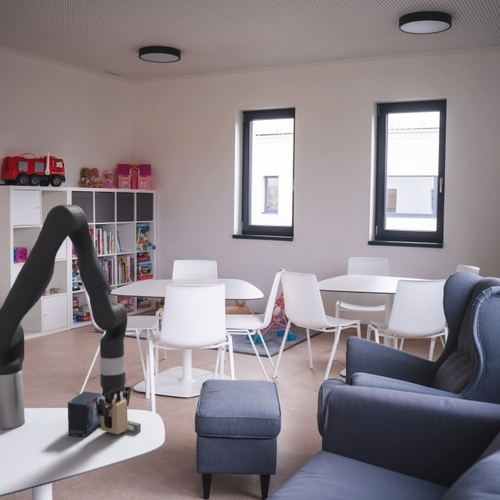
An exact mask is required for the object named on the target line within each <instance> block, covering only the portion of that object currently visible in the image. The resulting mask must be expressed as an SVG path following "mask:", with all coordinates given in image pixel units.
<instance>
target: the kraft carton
mask: <svg viewBox="0 0 500 500" xmlns="http://www.w3.org/2000/svg"><path fill="white" fill-rule="evenodd" d="M105 404H106V405H108V406H110V405H111V404H108V403H105ZM108 410H109V409H108V408H107V412H108ZM111 416H112V428H106V427H105V425H104V416H101V426H100V430H101V431H103V432H107V433H111V434H115V435H119V434H121V433H123V432H125V431H127V429H128V423H127V421H128V406H127V401H126V399H124V400H119V401H117V402H115V404H113V409H112V415H111Z"/></svg>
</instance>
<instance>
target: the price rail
mask: <svg viewBox="0 0 500 500" xmlns="http://www.w3.org/2000/svg"><path fill="white" fill-rule="evenodd" d="M127 423H128V429H127V430H126V431H128V432H131V433H134V434H135V433H136V434H139V433H141V431H142V430H141V429H142V428H141V425H142V424H141V423H138V422H134V421H131V420H127Z"/></svg>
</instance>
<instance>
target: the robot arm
mask: <svg viewBox="0 0 500 500" xmlns="http://www.w3.org/2000/svg"><path fill="white" fill-rule="evenodd" d="M89 226H90V225H89V222H88V218H87V216H86V213H85V212H84V210H83V209H82V207H80V206H79V205H76V204H57V205H56V206H54V207H52V208H51V209H50V210H49V211H48V213H47V215H46V217H45V219H44V222H43V224H42V226H41V228H40V232H39V235H37V236H38V237H37V238H36V241H35V243H34V246H33V247H32V249H31V250H30V252H29V254H28V256H27V258H26V260H25V261H24V263H23V265H22V266H21V268H20V270H19V272H18V274H17V276H16V277H15V280H14V283H13V284H12V286H11V288H10V290H9V291H8V294H7V296H6V297H5V300H4V302H3V303H2V305H1V307H0V429H2V430H6V429H8V430H10V429H14V428H19V427H21V426H22V425H24V424H25V422H26V418H25V417H26V416H25V397H24V377H23V376H24V375H23V364H24V360H25V332H24V328H23V326H22V324H21V322H22V321H23V319H24V317H25V316H26V315H27V314H28V313H29V311H31V309H33V307H34V306H36V305H37V304H38V301H39V300H40V299H41V298H42V296H43V295H44V294H45V292H46V290H47V289H48V286H49V284H50V282H51V281H52V279H53V276H54V272H55V264H56V258H57V254H58V252H59V250H60V248H61V246H62V245H63V243H64V242H65V240H66V239H67V238H68V239H70V241H71V243H72V245H73V247H74V250H75V253H76V259H77V267H78V274H79V277H80V280H81V283H82V284H83V287H84V290H85V292H86V293H87V295H88V299H89V305H90V309H91V316H92V318H93V321H94V323H95V325H96V326H97V327H98V328H99V329H100V330H102V331H105V333H104V335H103V336H102V337H101V339H100V342H99V385H100V387H101V388H102V393H101V397H100V398H96V399H95V403H96V407H97V410H98V414H99V415H100V416H104V425H105V427H106V428H112V416H111V415H112V409H113V404H115V402H117V401H119V400H126V401H127V407H128V406H129V405H130V398H131V391H132V387H131V386H127V385H126V381H127V379H126V373H127V372H126V360H125V359H126V358H125V344H124V340H125V337H126V332H127V331H126V330H127V327H128V313H127V309H126V308H125V306H124V305H123V304H121V303H120V302H112V303H111V301H110V299H109V298H110V297H109V296H110V295H111V294H112V290H113V289H112V287H111V284H110V282H109V279H108V278H107V275H106V273H105V271H104V269H103V266H102V264H101V260H100V259H99V256H98V253H97V250H96V247H95V243H94V241H93V238H92V237H93V236H92V234H91V231H90V227H89ZM105 403H108V404H111V405H110V406H108V405H106V404H105ZM107 408H108V409H109V410H108V412H107Z"/></svg>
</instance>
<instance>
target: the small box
mask: <svg viewBox="0 0 500 500" xmlns="http://www.w3.org/2000/svg"><path fill="white" fill-rule="evenodd" d="M101 396H102V393H100V392H91V391H82V392H81V393H80V394H78V395H77V396H75V397H74V398H72V399H71V400H70V401H68V402H67V423H68V424H67V427H68V429H67V430H68V431H67V436H72V437H80V438H87V437H89V436H90V435H91V434H92V433H94V431H96V430H97V429H98V428H100V427H101V416H100V415H99V414H98V410H97V407H96V403H95V399H96V398H100V397H101Z"/></svg>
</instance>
